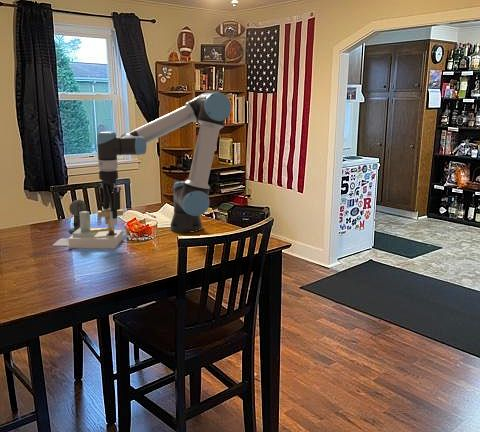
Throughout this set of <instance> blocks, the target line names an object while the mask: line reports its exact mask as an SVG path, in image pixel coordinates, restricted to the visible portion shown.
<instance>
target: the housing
mask: <svg viewBox="0 0 480 432" xmlns="http://www.w3.org/2000/svg"><path fill="white" fill-rule="evenodd" d="M123 239H124V231H123V229H114V234H112V235H110V234H109V231H102V232H97V233H96V234H95V235H94V236H93V237H73V234H71V236H70V237H68V242H69V246H68V248H69V249H74V248H75V249H116V248H117V247H118V246H119V244H120V243H121V242H122V240H123Z"/></svg>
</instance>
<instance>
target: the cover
mask: <svg viewBox="0 0 480 432" xmlns="http://www.w3.org/2000/svg"><path fill="white" fill-rule="evenodd" d="M79 214H80V228H79V229H77V230H76V231H75V232H74V233H73V234H72V235H73V237H93V236H94V235H95V234H96V233H97V232H90V229H97V228H98V227H91V217H90V216H91V215H90V211H87V210H86V211H82V212H79Z"/></svg>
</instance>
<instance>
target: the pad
mask: <svg viewBox="0 0 480 432" xmlns="http://www.w3.org/2000/svg"><path fill="white" fill-rule="evenodd" d="M68 238H69V237H68ZM68 238H64V237H63V238H61V237H60V239H58V240H56V241H55V242H54V243H53V244H52V245H51V246H52V247H69V242H68Z"/></svg>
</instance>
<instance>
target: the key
mask: <svg viewBox="0 0 480 432" xmlns="http://www.w3.org/2000/svg"><path fill="white" fill-rule="evenodd" d="M122 216H124V210H123V209H121V208H120V210H117V217H122ZM105 217H108V224H107V226H108V227H101V228H100V227H96V228H97V229H90V232H102V231H109V234H110V235H112V234H114V230H115V226H111V219H110V210H105V211H104V210H97V218H105Z"/></svg>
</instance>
